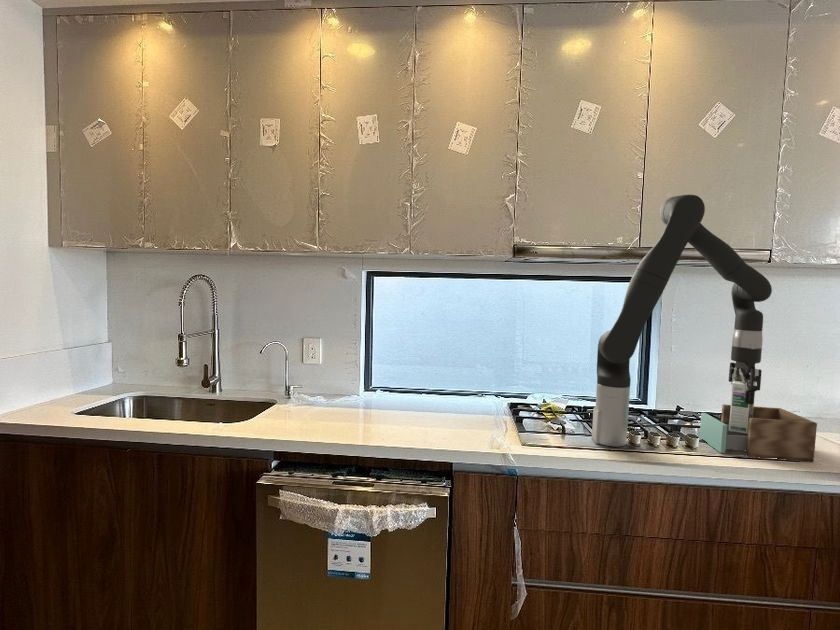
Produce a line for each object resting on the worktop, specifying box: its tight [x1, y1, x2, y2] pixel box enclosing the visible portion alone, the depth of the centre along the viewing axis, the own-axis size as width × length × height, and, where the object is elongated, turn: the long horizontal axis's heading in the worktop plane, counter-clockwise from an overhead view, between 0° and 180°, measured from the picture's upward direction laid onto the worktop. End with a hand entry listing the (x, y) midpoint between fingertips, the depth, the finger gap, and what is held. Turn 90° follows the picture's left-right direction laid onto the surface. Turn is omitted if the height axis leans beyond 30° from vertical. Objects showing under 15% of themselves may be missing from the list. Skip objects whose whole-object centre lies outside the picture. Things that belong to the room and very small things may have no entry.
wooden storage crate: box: [720, 404, 818, 463], centre depth 157 cm, size 17×18×11 cm
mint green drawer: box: [699, 412, 748, 454], centre depth 158 cm, size 14×15×8 cm
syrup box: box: [729, 381, 755, 434], centre depth 157 cm, size 6×6×14 cm
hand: (742, 400), depth 157 cm, fingers closed on syrup box, 7 cm apart
